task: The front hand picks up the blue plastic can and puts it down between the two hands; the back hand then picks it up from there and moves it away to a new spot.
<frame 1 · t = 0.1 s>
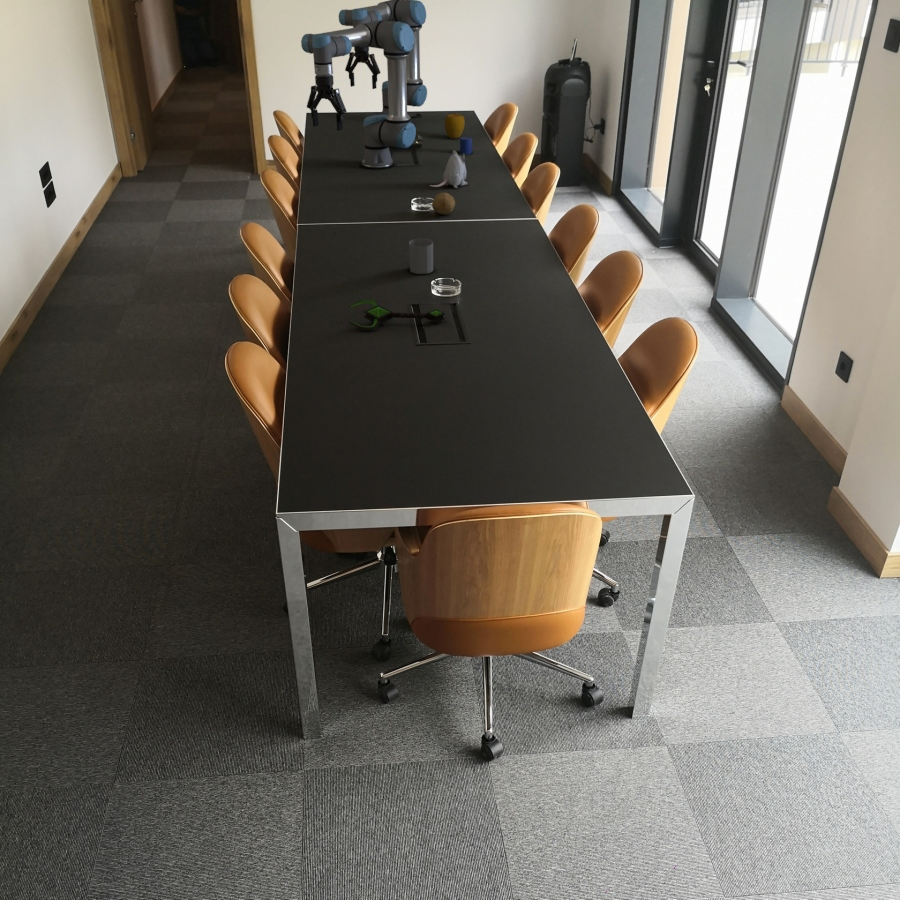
front hand: (327, 128, 372), 28 cm above the table, tool pointing down, fingers open, 13 cm apart
back hand: (363, 87, 451), 28 cm above the table, tool pointing down, fingers open, 13 cm apart
potato: (443, 213, 363), on the table
can: (465, 152, 449), on the table
yellow bell pepper: (454, 138, 475), on the table
cup: (421, 270, 308), on the table
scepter: (397, 323, 270), on the table
toy: (447, 188, 394), on the table
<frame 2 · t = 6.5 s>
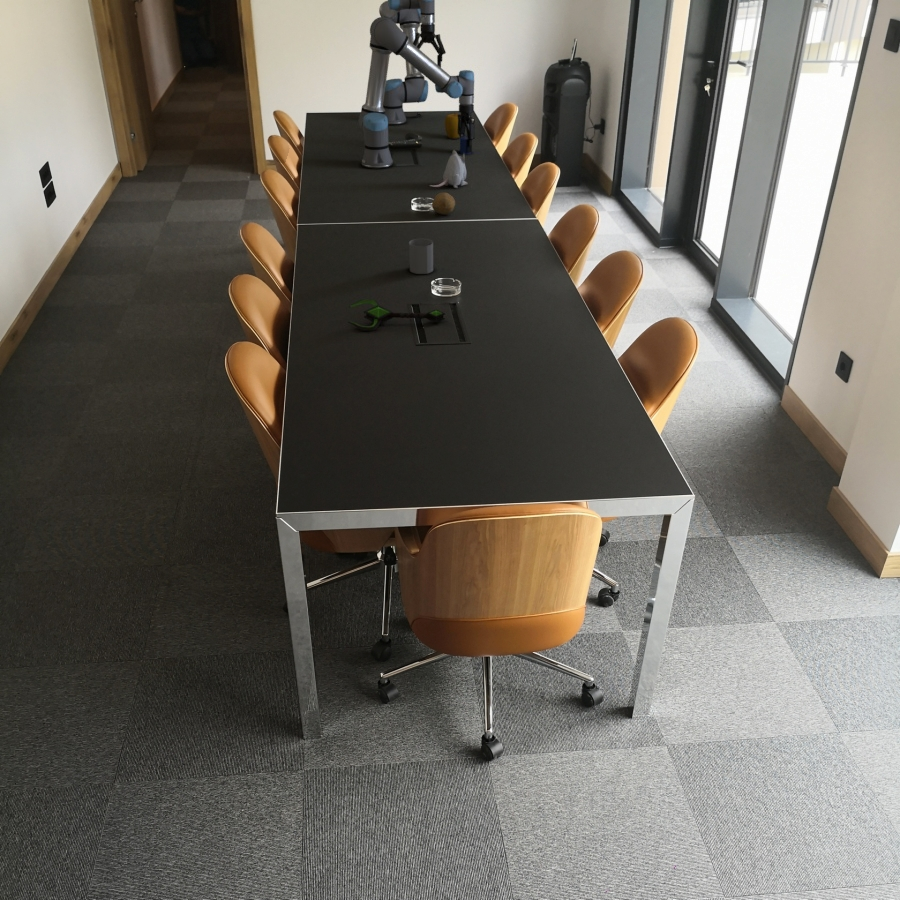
front hand: (465, 151, 448), 1 cm above the table, tool pointing down, fingers closed on can, 6 cm apart
back hand: (428, 67, 464), 35 cm above the table, tool pointing down, fingers open, 13 cm apart
can: (465, 152, 449), on the table, touching front hand
everything else where it was.
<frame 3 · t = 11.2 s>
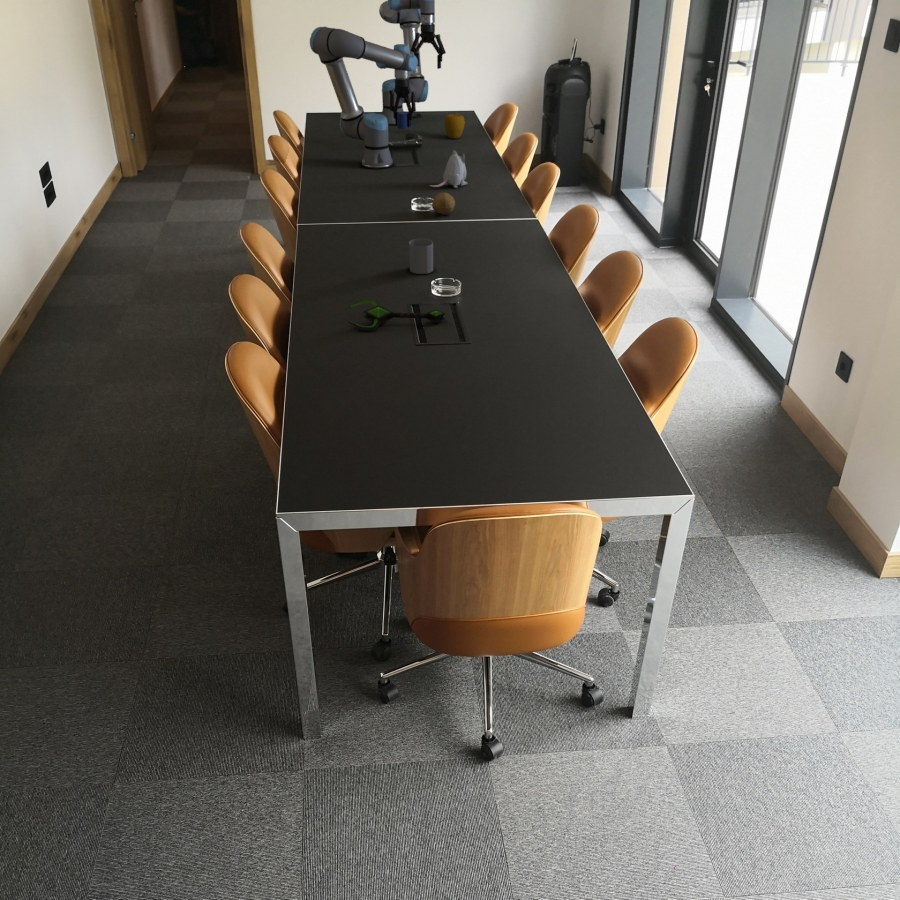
front hand: (403, 125, 449), 12 cm above the table, tool pointing down, fingers closed on can, 6 cm apart
back hand: (428, 67, 464), 35 cm above the table, tool pointing down, fingers open, 13 cm apart
can: (403, 127, 450), point 11 cm above the table, touching front hand
everything else where it was.
when the front hand's fingers open (3 cm above the table, at t = 16.4 s): can drops 2 cm, on the table.
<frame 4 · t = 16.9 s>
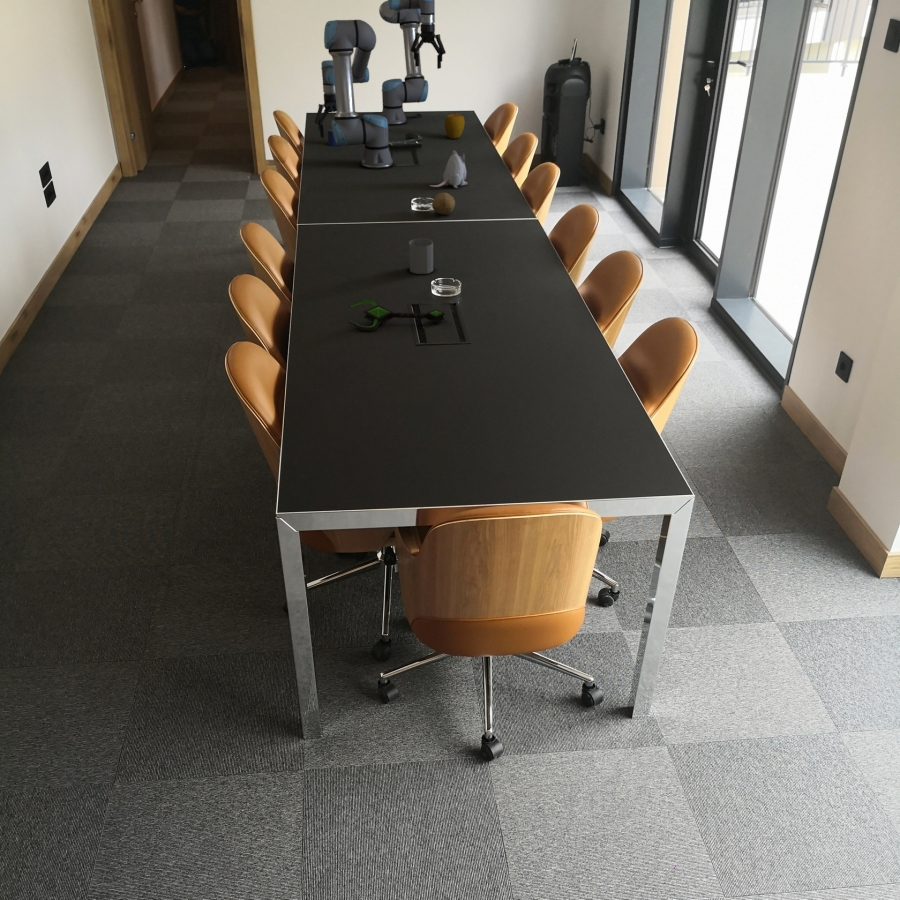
front hand: (333, 135, 461), 4 cm above the table, tool pointing down, fingers open, 12 cm apart
back hand: (428, 67, 464), 35 cm above the table, tool pointing down, fingers open, 13 cm apart
can: (334, 144, 464), on the table
everything else where it was.
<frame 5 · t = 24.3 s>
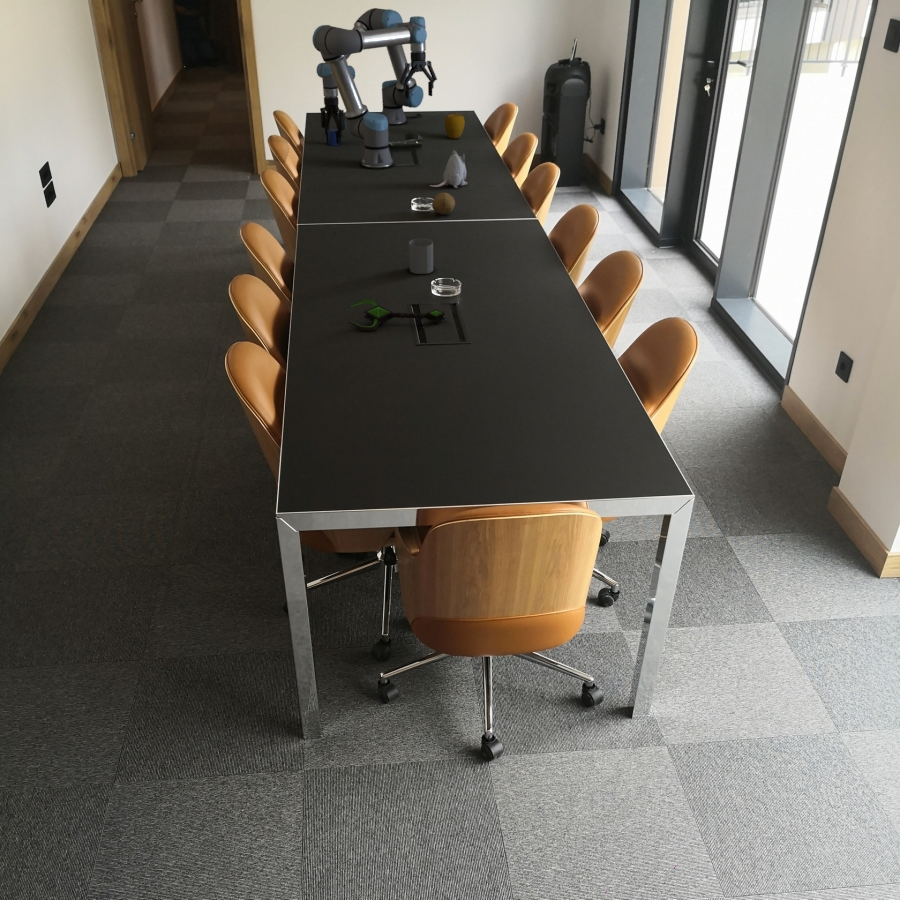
front hand: (418, 97, 440), 26 cm above the table, tool pointing down, fingers open, 13 cm apart
back hand: (334, 142, 463), 1 cm above the table, tool pointing down, fingers closed on can, 6 cm apart
can: (334, 144, 464), on the table, touching back hand
everything else where it was.
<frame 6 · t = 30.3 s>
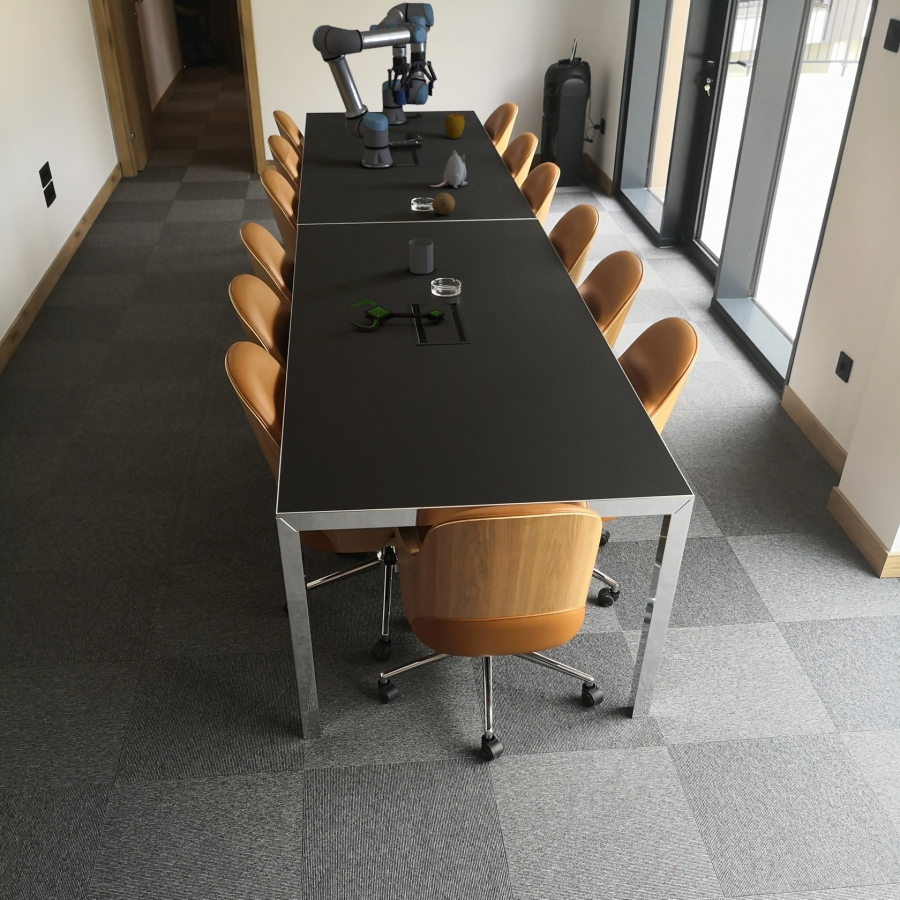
front hand: (418, 97, 440), 26 cm above the table, tool pointing down, fingers open, 13 cm apart
back hand: (400, 102, 470), 18 cm above the table, tool pointing down, fingers closed on can, 6 cm apart
can: (401, 104, 470), point 17 cm above the table, touching back hand
everything else where it was.
when the back hand's fingers open (3 cm above the table, at t = 36.7 s): can drops 2 cm, on the table.
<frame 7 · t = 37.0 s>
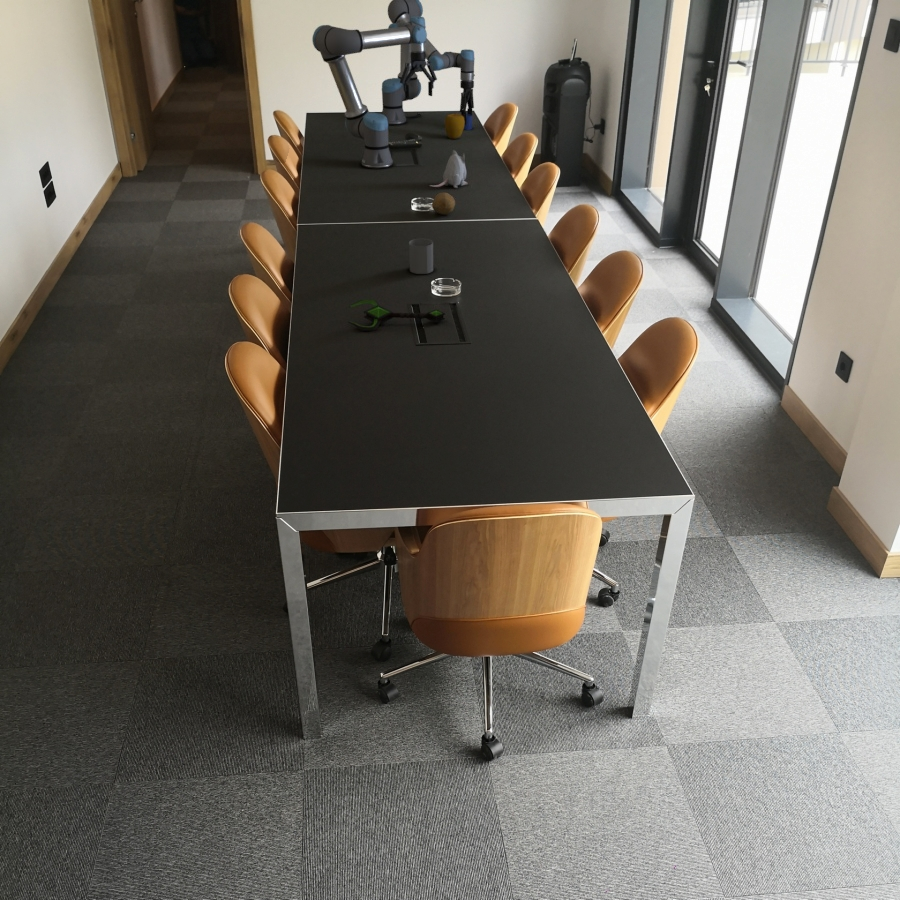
front hand: (418, 97, 440), 26 cm above the table, tool pointing down, fingers open, 13 cm apart
back hand: (466, 122, 493), 3 cm above the table, tool pointing down, fingers open, 10 cm apart
can: (466, 128, 495), on the table
everything else where it was.
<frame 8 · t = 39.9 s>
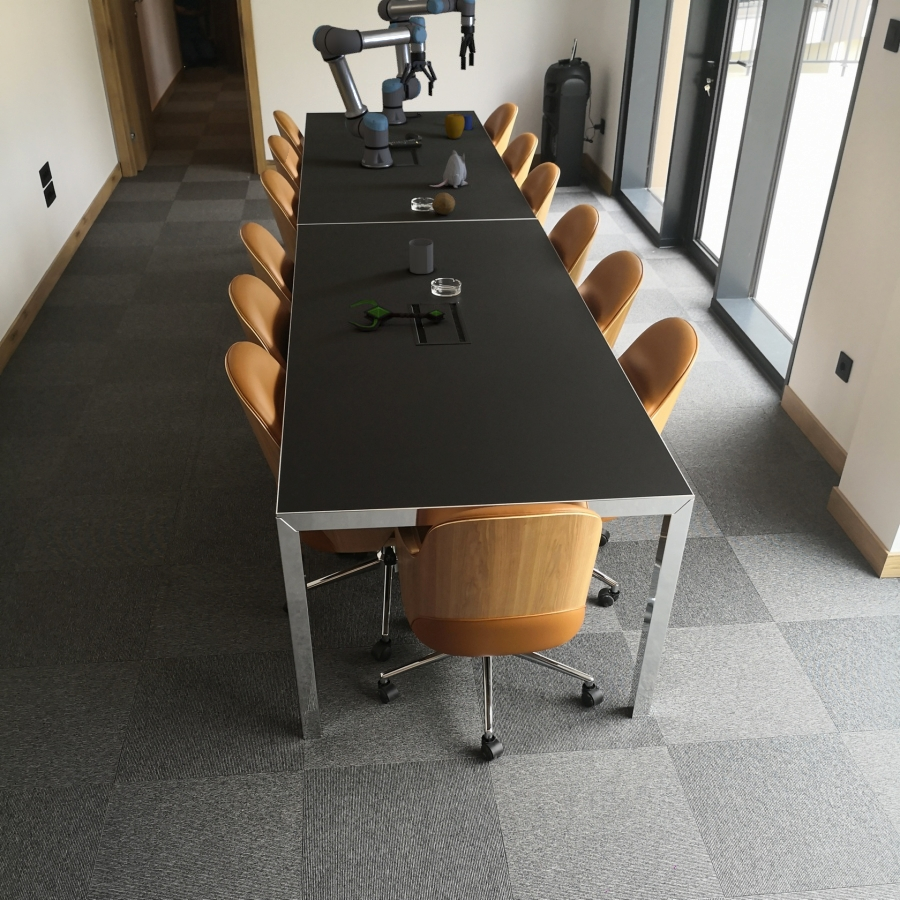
front hand: (418, 97, 440), 26 cm above the table, tool pointing down, fingers open, 13 cm apart
back hand: (467, 67, 478), 32 cm above the table, tool pointing down, fingers open, 13 cm apart
nothing on the table moved.
at the end: can inside the target area (0.0 cm from its centre), on the table; can tilted 0°; the two hands never held the can at the same time; the front hand is holding nothing; the back hand is holding nothing; can at rest at the end (0.0 cm/s) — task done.
